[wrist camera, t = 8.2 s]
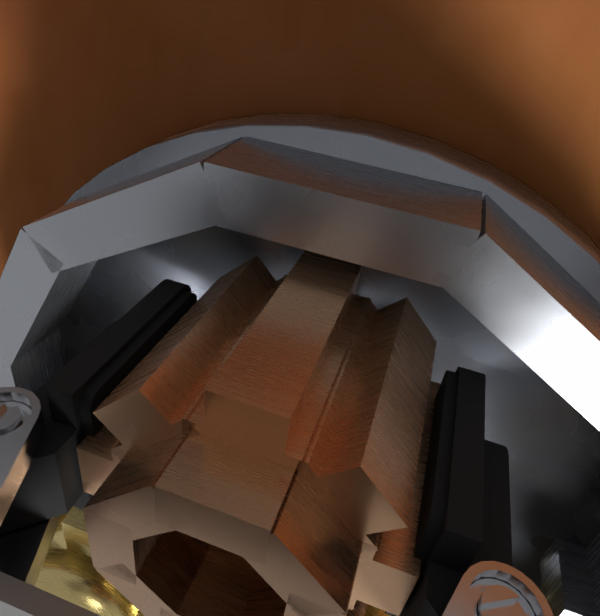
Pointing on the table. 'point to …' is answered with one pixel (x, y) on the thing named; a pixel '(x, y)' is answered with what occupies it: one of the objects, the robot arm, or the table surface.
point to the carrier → (372, 283)
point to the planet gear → (267, 452)
